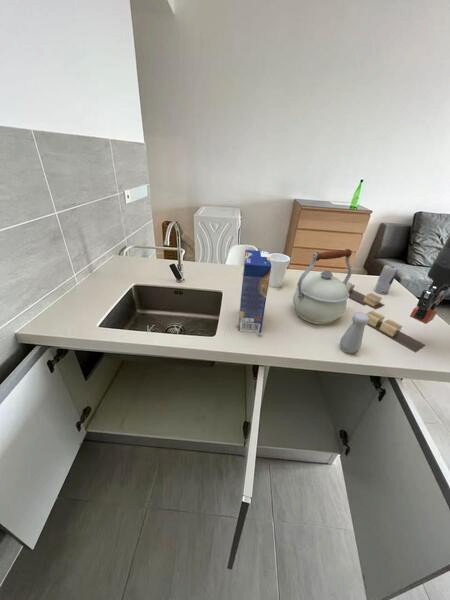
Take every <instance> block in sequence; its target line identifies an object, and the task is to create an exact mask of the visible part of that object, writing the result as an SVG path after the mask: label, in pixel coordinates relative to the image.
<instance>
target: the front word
mask: <svg viewBox="0 0 450 600" xmlns="http://www.w3.org/2000/svg"><path fill="white" fill-rule="evenodd" d="M365 314H366V315H367V316H368V317H369V323H368V324H367V325H366V326H368V327H369V328H371V329H373V330H375V331H376V332H378V333H380V334H382V335H383V336H385V337H387V338H389V339H390V340H392V341H394V342H396V343H397V344H399V345H401V346H403V347H404V348H406V349H408V350H410V351H412V352H414V353H417V352H419V351H420V350H421V349H423V348H424V347H426V346H427V345H426V344H424V343H423V342H421V341H419V340H417V339H415V338H414V337H412V336H410V335H408V334H406V333H405V332H402V331H401V330H402V328H403V325H402V324H400V323H398V322H396V321H394V320H393V319H390V318H388V319H387V320H385V316H384V315H383V314H382V313H381V314H380V313H379V312H378V311H377V312H376V311H375V310H370V311H368V312H367V313H365Z"/></svg>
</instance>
